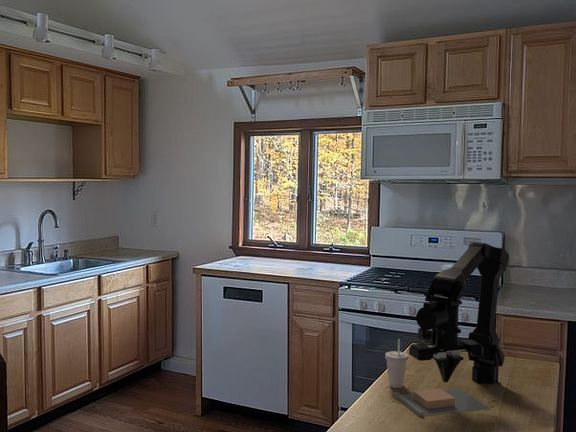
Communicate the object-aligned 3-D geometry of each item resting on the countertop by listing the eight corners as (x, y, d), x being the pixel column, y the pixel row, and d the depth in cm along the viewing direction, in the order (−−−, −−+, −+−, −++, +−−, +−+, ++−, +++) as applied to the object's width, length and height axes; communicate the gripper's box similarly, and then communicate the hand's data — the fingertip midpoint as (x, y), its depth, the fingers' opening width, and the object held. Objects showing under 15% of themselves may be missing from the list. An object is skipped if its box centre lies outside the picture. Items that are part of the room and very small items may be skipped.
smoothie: (407, 393, 159) (408, 343, 158) (384, 391, 160) (384, 341, 159) (407, 384, 165) (408, 336, 164) (384, 383, 167) (385, 335, 166)
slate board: (459, 391, 160) (459, 385, 160) (490, 411, 147) (490, 404, 147) (394, 398, 155) (394, 392, 155) (419, 419, 142) (419, 412, 141)
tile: (440, 388, 155) (413, 391, 152) (455, 398, 148) (427, 401, 146) (440, 396, 155) (413, 399, 153) (454, 406, 148) (426, 409, 146)
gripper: (461, 314, 160) (459, 369, 161) (399, 318, 155) (398, 374, 156) (485, 323, 149) (483, 382, 150) (420, 328, 144) (418, 389, 145)
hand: (445, 381), depth 151 cm, fingers closed
